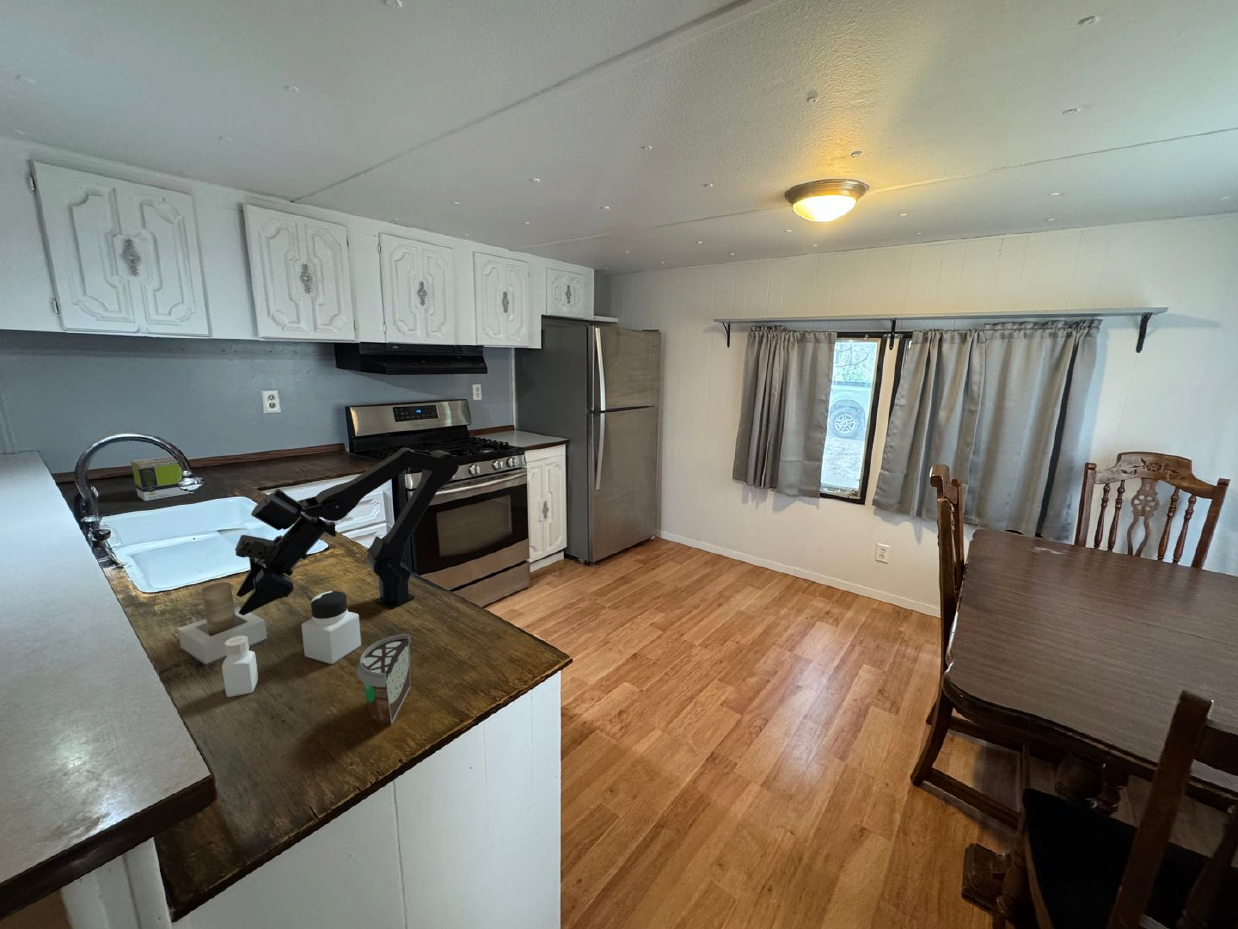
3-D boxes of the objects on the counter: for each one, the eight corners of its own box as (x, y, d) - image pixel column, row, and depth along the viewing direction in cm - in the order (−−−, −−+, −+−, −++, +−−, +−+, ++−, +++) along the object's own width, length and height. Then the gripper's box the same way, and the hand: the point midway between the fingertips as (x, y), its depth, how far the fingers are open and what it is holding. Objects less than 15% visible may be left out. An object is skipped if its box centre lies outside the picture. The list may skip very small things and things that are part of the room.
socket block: (267, 640, 102) (264, 620, 101) (206, 666, 93) (203, 644, 92) (241, 625, 107) (238, 606, 106) (181, 649, 98) (177, 628, 97)
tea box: (186, 489, 205) (180, 454, 202) (194, 493, 199) (188, 457, 196) (136, 496, 193) (130, 459, 190) (143, 501, 187) (137, 463, 184)
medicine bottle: (362, 645, 101) (357, 591, 99) (331, 665, 94) (326, 607, 92) (335, 638, 103) (330, 584, 101) (304, 657, 97) (297, 600, 94)
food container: (378, 682, 90) (374, 632, 88) (413, 682, 90) (410, 632, 88) (347, 733, 78) (342, 676, 76) (388, 731, 78) (384, 675, 76)
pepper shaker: (225, 699, 84) (217, 649, 82) (232, 685, 88) (225, 636, 86) (253, 694, 86) (247, 644, 84) (259, 680, 90) (253, 632, 88)
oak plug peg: (244, 638, 101) (236, 583, 99) (223, 650, 97) (215, 593, 95) (226, 635, 102) (217, 581, 100) (204, 647, 98) (195, 590, 95)
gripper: (257, 509, 107) (198, 569, 102) (265, 534, 93) (197, 605, 88) (304, 536, 113) (251, 594, 109) (318, 563, 99) (257, 631, 95)
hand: (239, 604), depth 100 cm, fingers open, 9 cm apart
